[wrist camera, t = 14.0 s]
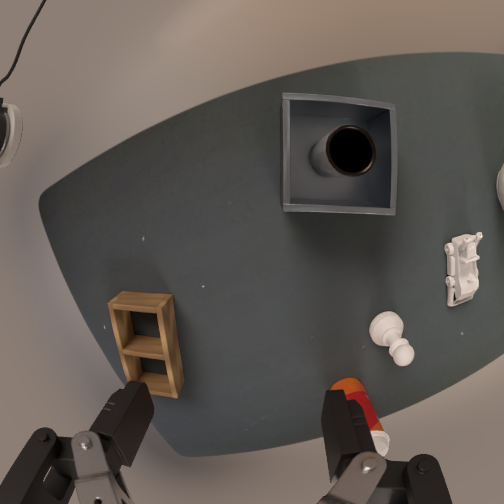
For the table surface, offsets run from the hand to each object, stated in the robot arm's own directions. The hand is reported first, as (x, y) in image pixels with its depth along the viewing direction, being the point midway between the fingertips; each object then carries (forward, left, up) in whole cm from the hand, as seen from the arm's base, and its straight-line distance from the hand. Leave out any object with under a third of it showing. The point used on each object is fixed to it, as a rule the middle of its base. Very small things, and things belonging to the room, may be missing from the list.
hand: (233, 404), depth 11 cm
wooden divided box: (+14, -16, -26) cm, 33 cm away
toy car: (+2, +30, -26) cm, 40 cm away
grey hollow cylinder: (-12, +8, -25) cm, 29 cm away
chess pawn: (+11, +18, -26) cm, 33 cm away
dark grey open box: (-12, +8, -26) cm, 29 cm away
